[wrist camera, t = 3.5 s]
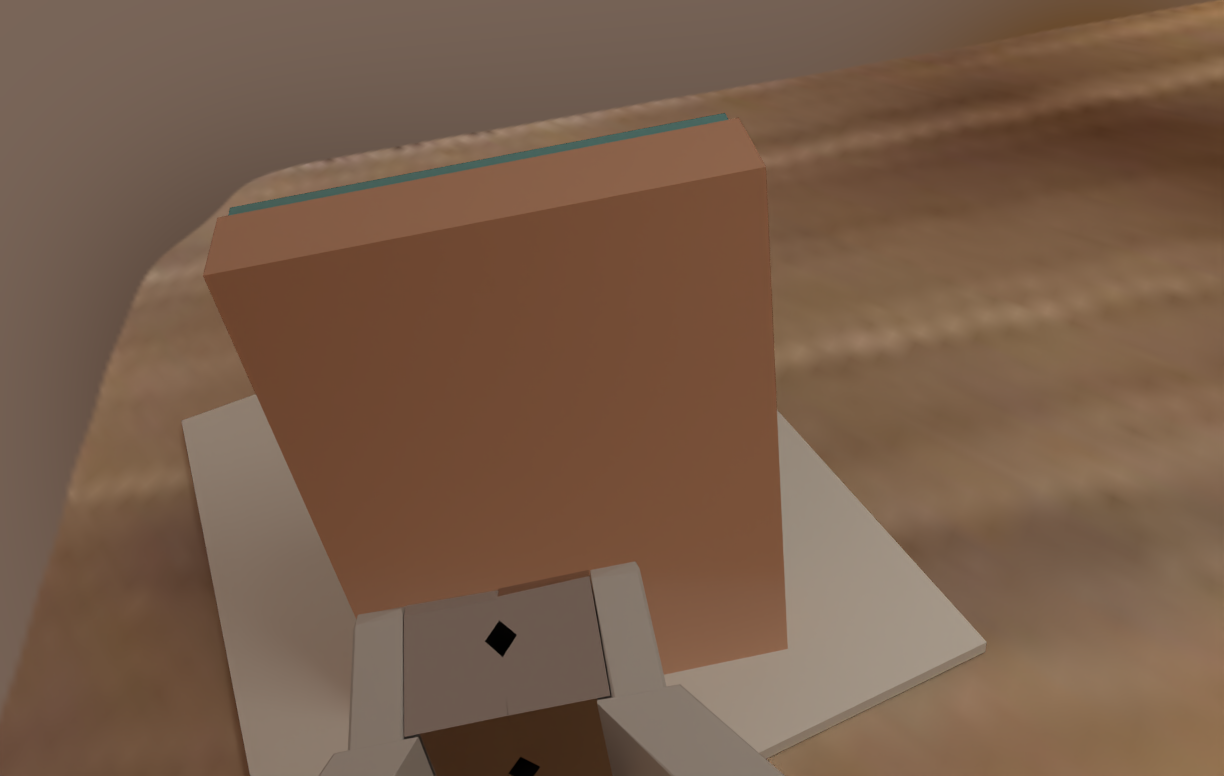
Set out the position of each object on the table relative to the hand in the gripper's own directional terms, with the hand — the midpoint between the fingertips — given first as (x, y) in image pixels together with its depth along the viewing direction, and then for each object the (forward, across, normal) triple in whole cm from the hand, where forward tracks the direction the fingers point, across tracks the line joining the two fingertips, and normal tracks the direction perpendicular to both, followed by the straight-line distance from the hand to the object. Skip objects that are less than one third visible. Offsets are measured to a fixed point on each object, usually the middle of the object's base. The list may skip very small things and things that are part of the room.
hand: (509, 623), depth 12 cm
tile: (+10, 0, +14) cm, 18 cm away
